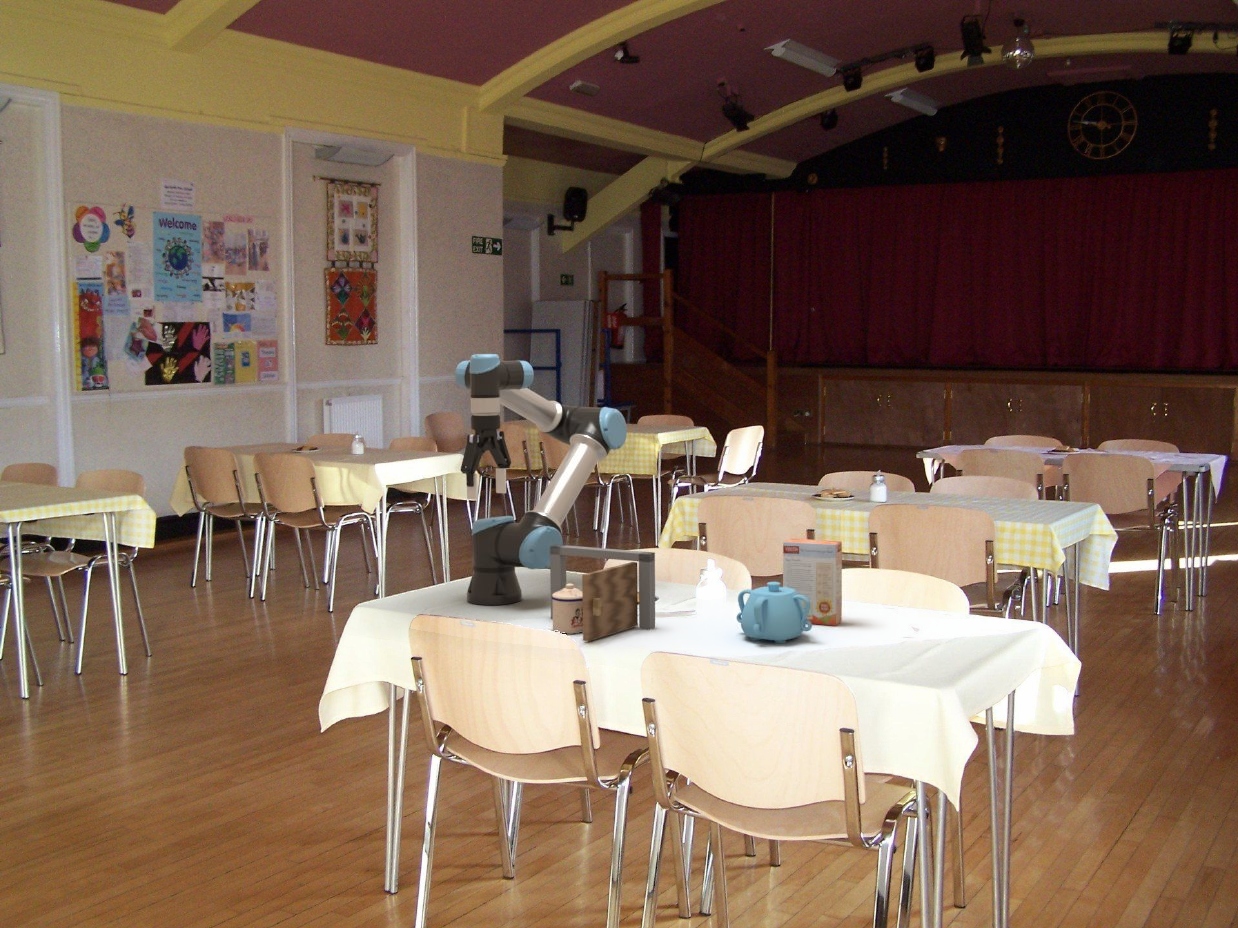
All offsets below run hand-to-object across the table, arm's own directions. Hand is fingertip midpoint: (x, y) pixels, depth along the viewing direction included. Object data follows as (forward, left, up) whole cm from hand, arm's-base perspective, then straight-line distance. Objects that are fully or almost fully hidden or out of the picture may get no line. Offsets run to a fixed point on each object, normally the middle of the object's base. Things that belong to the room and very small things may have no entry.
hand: (487, 496), depth 331 cm
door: (+4, +39, -31) cm, 50 cm away
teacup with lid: (+3, +27, -32) cm, 42 cm away
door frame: (-6, +30, -32) cm, 44 cm away
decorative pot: (-10, +75, -32) cm, 82 cm away
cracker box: (-30, +78, -32) cm, 89 cm away
